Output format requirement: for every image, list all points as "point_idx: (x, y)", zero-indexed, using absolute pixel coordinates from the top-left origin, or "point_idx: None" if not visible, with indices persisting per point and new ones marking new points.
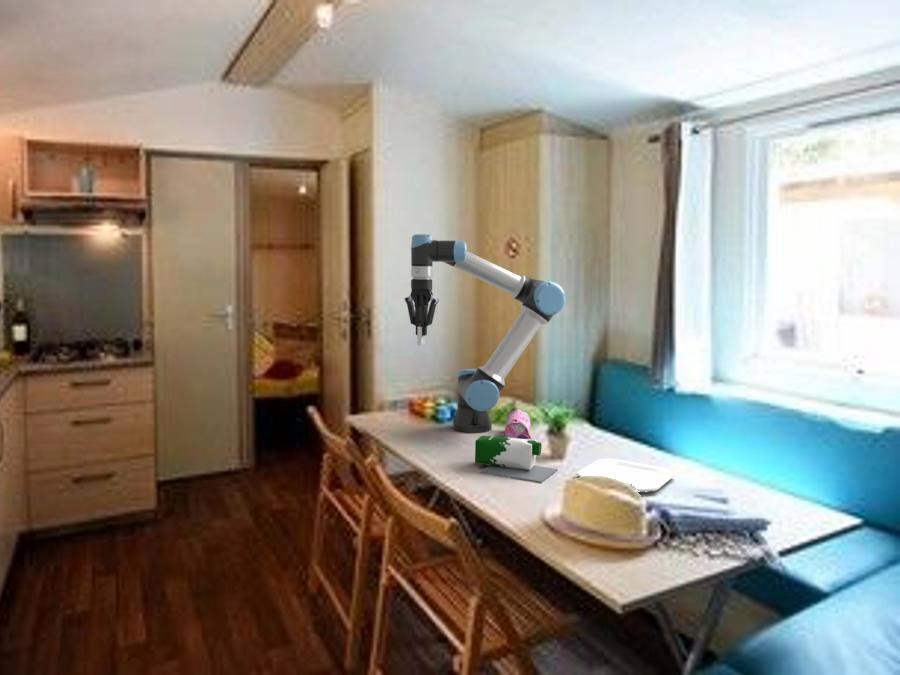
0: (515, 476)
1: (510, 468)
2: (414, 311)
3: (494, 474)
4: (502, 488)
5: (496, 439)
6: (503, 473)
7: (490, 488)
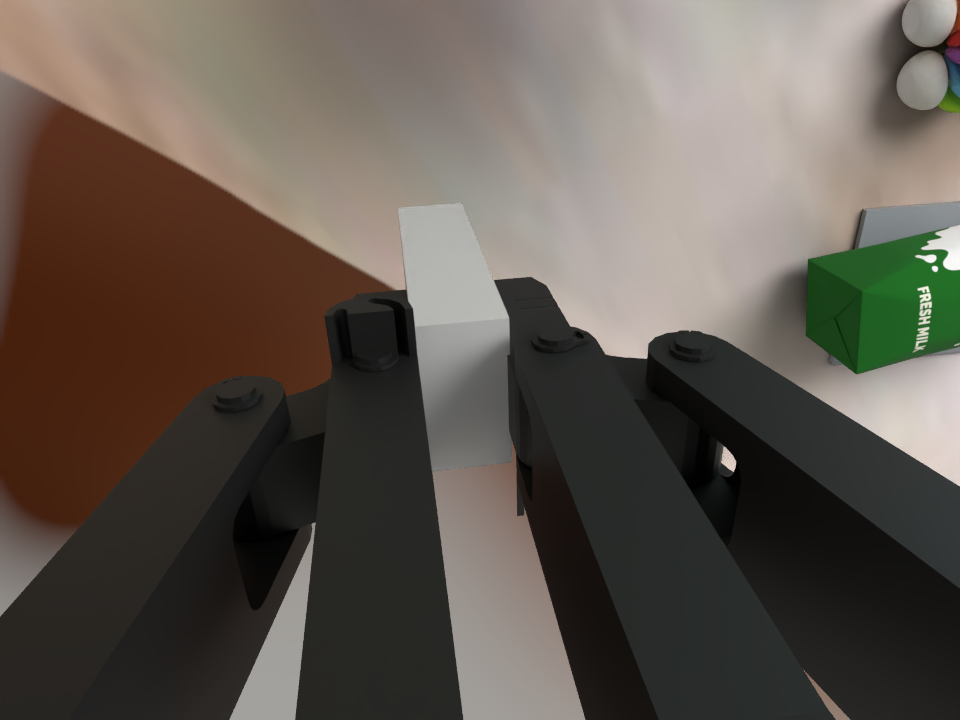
0: (952, 349)
1: None
2: (127, 664)
3: None
4: (921, 441)
5: (946, 341)
6: None
7: None
